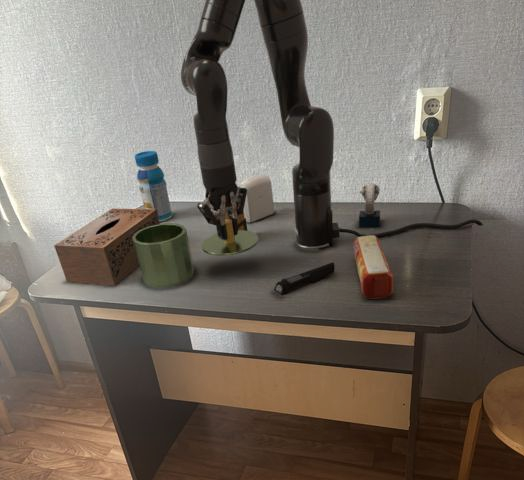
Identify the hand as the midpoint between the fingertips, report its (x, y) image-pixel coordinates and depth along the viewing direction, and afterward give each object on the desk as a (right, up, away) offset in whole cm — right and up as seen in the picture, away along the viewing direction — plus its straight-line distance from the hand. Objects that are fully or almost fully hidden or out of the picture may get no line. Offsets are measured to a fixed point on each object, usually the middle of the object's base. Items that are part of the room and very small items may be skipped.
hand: (229, 236), depth 121 cm
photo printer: (+7, +13, +34) cm, 37 cm away
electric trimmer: (+18, -12, -4) cm, 22 cm away
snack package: (+32, -11, -5) cm, 35 cm away
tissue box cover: (-31, -3, +17) cm, 36 cm away
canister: (-15, -9, +6) cm, 19 cm away
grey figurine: (+38, +8, +21) cm, 44 cm away
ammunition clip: (+1, +3, +20) cm, 20 cm away
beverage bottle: (-25, +15, +43) cm, 52 cm away
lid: (0, -1, +1) cm, 2 cm away
